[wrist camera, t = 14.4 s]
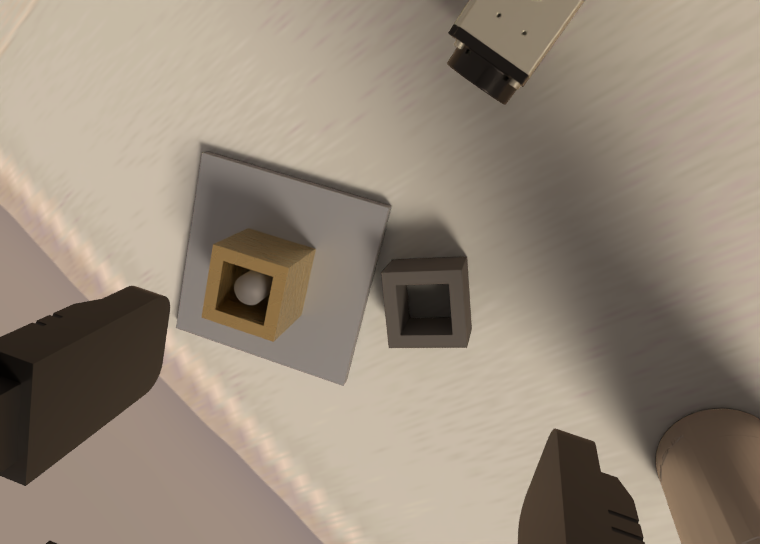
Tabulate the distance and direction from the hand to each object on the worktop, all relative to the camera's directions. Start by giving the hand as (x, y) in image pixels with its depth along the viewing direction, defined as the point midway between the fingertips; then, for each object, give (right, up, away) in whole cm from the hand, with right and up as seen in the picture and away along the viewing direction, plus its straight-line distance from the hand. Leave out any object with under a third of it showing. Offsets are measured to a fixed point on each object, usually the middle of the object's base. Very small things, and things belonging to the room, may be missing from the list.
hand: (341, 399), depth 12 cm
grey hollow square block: (+5, +1, +37) cm, 37 cm away
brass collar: (-8, +2, +39) cm, 39 cm away
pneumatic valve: (+11, +21, +30) cm, 38 cm away
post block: (-8, +3, +40) cm, 40 cm away
